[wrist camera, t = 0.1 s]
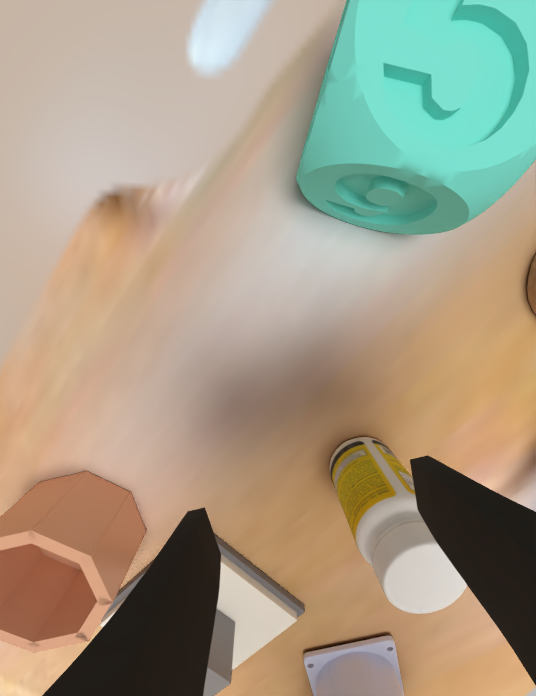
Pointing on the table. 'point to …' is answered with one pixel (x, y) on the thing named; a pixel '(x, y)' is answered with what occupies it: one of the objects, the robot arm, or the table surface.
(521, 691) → the table surface
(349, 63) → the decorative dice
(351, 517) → the supplement bottle
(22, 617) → the bowl
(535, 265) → the figurine
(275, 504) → the table surface
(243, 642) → the lid
